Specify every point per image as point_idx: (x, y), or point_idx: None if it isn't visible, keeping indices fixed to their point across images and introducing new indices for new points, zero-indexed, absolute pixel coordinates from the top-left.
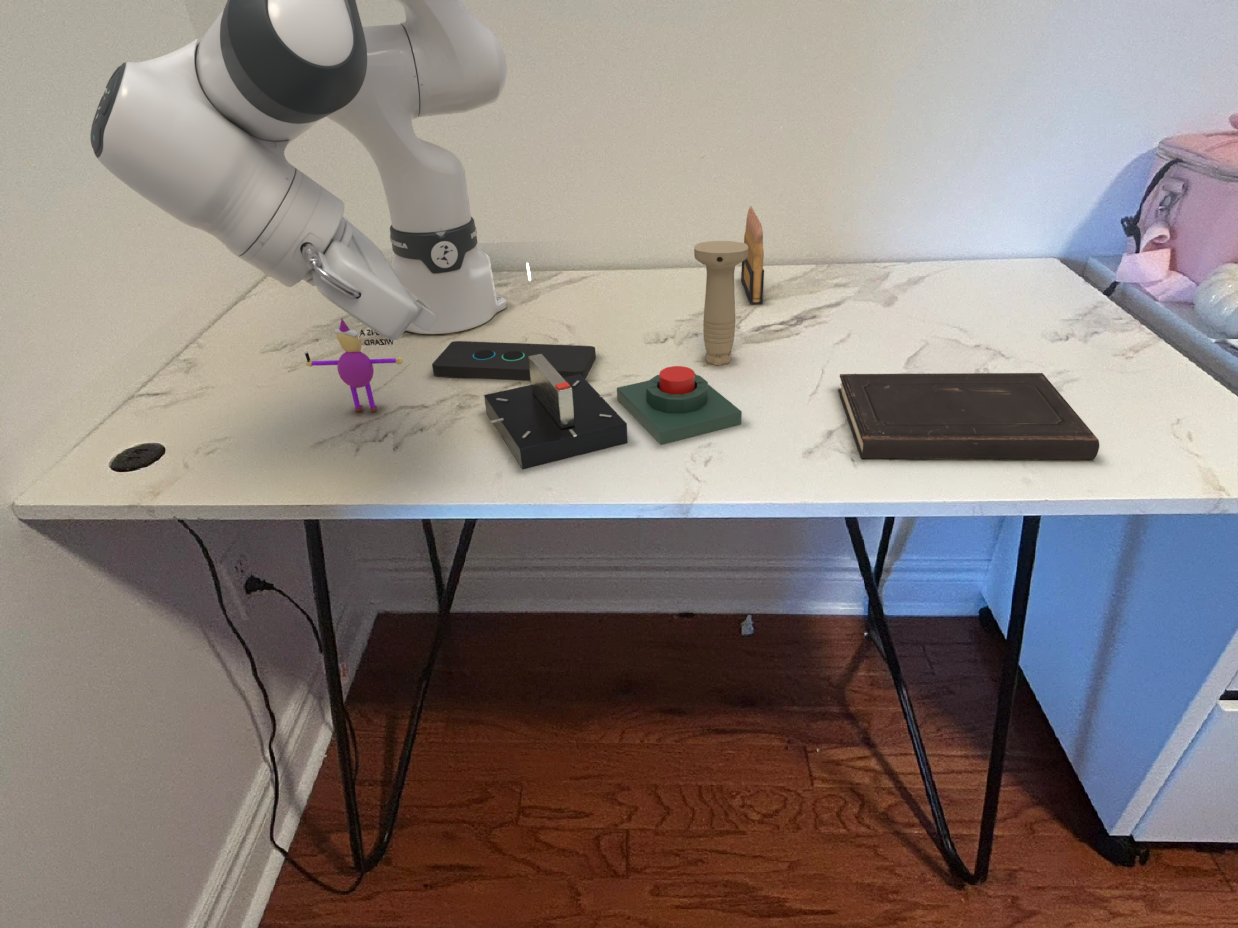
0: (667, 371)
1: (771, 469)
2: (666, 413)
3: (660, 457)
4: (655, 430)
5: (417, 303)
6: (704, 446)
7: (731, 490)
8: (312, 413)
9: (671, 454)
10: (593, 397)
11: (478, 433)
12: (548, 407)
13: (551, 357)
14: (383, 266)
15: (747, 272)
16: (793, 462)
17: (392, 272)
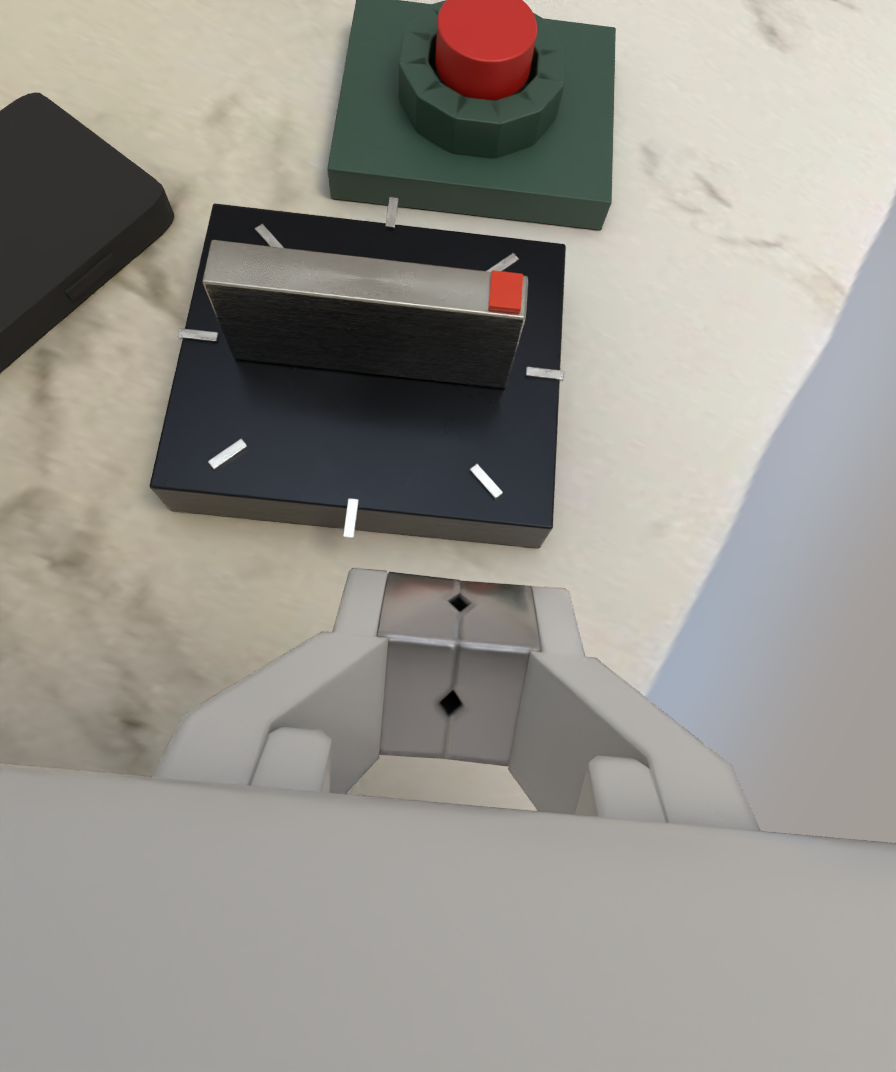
0: (463, 33)
1: (798, 117)
2: (533, 148)
3: (648, 257)
4: (578, 207)
5: (649, 702)
6: (651, 163)
7: (838, 215)
8: None
9: (648, 232)
10: (379, 241)
11: (271, 576)
12: (399, 366)
13: (6, 213)
14: (554, 1060)
15: None
16: (792, 74)
17: (548, 892)
